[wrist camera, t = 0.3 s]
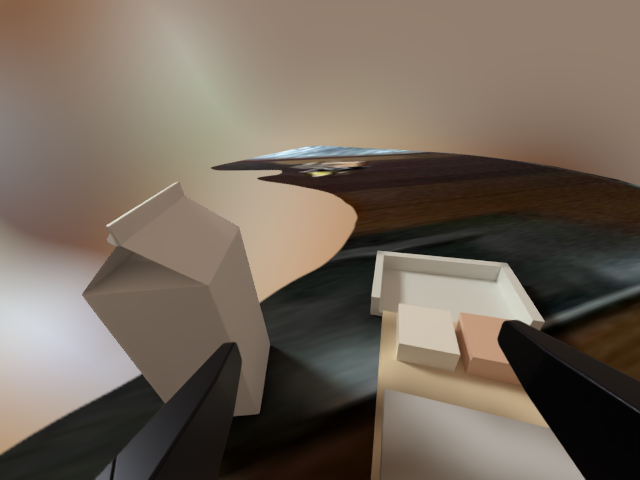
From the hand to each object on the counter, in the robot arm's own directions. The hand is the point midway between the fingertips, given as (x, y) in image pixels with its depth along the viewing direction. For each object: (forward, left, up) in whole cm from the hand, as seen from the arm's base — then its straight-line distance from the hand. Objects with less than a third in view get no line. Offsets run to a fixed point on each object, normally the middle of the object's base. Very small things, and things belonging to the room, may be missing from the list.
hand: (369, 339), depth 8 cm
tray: (+17, -15, -16) cm, 28 cm away
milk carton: (+9, +11, -17) cm, 22 cm away
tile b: (+8, -14, -15) cm, 22 cm away
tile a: (+10, -9, -15) cm, 20 cm away
